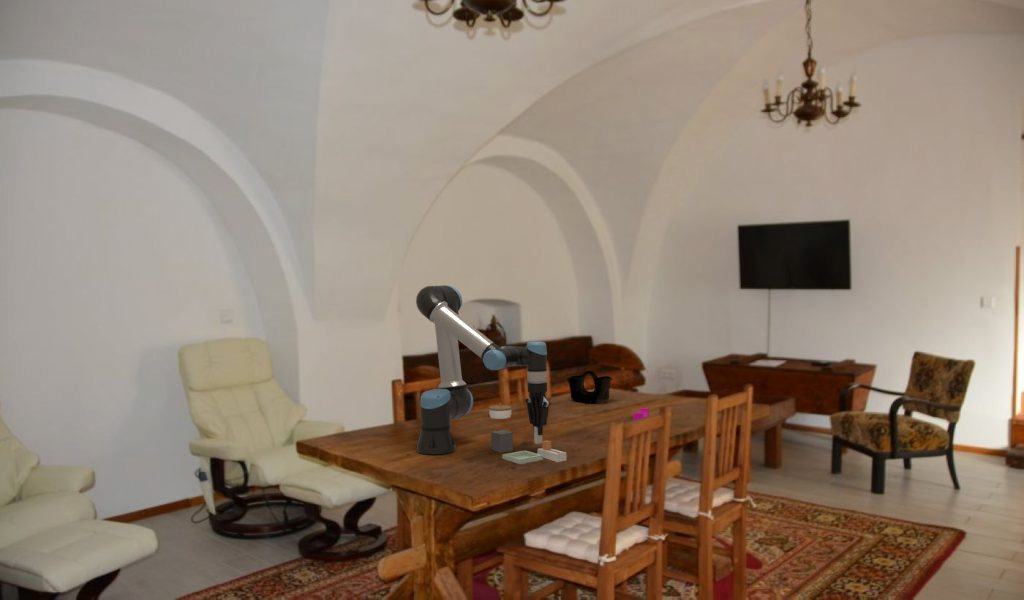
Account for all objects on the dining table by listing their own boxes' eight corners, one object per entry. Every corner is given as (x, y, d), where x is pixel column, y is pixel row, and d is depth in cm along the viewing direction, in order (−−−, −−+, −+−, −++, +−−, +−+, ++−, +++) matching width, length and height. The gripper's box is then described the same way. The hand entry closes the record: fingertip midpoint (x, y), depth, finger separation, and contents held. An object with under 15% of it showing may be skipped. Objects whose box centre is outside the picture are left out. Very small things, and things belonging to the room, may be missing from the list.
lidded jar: (485, 424, 366) (485, 404, 365) (493, 420, 376) (493, 401, 376) (507, 425, 362) (507, 405, 362) (514, 421, 372) (514, 401, 372)
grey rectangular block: (500, 454, 301) (500, 434, 301) (491, 452, 306) (491, 431, 306) (513, 452, 304) (512, 432, 304) (504, 450, 309) (503, 430, 309)
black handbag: (616, 409, 403) (615, 371, 403) (607, 412, 394) (607, 373, 393) (573, 406, 416) (572, 368, 416) (563, 408, 407) (563, 371, 406)
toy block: (647, 430, 345) (647, 413, 345) (633, 430, 348) (633, 413, 347) (654, 424, 359) (654, 408, 359) (640, 424, 362) (640, 408, 361)
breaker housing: (557, 462, 286) (557, 454, 286) (537, 456, 296) (537, 448, 296) (566, 460, 289) (566, 452, 289) (546, 455, 299) (546, 447, 299)
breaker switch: (546, 450, 293) (546, 442, 293) (542, 449, 295) (542, 441, 295) (551, 449, 295) (551, 441, 295) (547, 448, 297) (547, 440, 297)
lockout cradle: (519, 464, 283) (519, 459, 283) (502, 459, 292) (502, 454, 292) (542, 460, 290) (542, 455, 290) (525, 455, 298) (525, 450, 298)
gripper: (555, 382, 296) (556, 444, 296) (534, 379, 306) (535, 439, 307) (540, 384, 291) (541, 447, 292) (519, 381, 302) (520, 441, 302)
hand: (538, 443), depth 299 cm, fingers closed
